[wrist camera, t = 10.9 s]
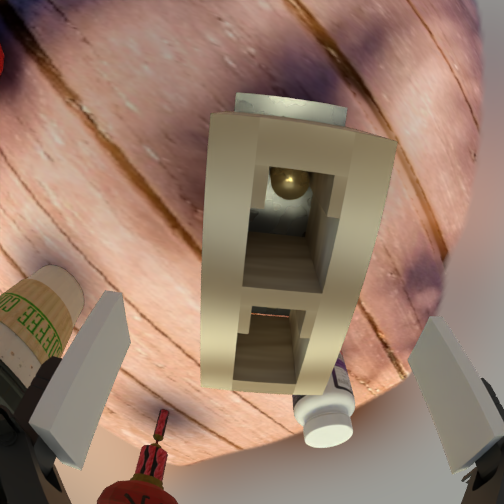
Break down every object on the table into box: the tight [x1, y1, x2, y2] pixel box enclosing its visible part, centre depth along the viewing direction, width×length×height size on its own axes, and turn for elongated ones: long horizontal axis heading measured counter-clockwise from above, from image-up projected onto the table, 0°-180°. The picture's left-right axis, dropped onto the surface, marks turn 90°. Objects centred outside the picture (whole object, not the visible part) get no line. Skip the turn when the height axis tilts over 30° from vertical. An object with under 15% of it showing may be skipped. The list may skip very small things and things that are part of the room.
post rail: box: [234, 93, 347, 316], centre depth 20 cm, size 16×7×6 cm, turn 174°
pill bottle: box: [292, 350, 355, 448], centre depth 26 cm, size 5×5×10 cm
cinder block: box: [200, 111, 397, 395], centre depth 19 cm, size 16×8×7 cm, turn 174°
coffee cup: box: [0, 265, 84, 414], centre depth 21 cm, size 10×10×15 cm
